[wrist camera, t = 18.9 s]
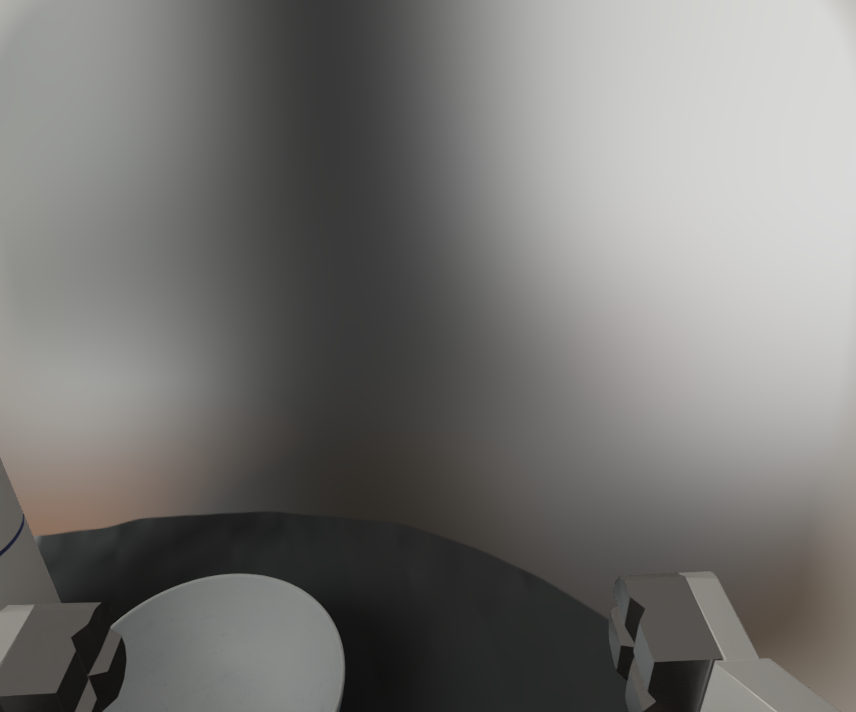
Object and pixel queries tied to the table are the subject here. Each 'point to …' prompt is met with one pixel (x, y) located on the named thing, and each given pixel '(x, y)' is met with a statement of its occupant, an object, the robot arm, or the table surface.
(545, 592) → the table surface
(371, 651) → the table surface
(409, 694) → the table surface
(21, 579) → the cylindrical container
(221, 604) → the chinaware
